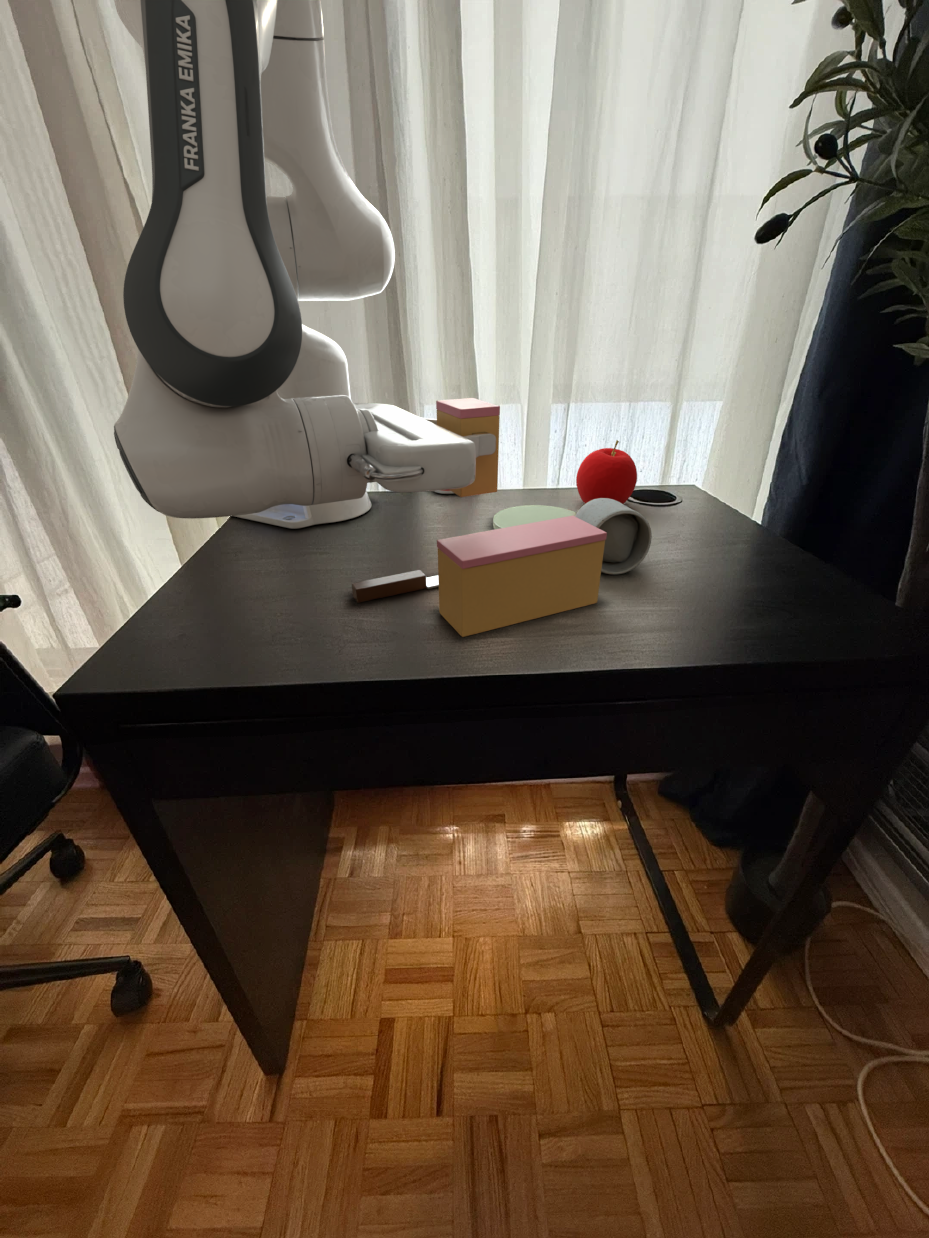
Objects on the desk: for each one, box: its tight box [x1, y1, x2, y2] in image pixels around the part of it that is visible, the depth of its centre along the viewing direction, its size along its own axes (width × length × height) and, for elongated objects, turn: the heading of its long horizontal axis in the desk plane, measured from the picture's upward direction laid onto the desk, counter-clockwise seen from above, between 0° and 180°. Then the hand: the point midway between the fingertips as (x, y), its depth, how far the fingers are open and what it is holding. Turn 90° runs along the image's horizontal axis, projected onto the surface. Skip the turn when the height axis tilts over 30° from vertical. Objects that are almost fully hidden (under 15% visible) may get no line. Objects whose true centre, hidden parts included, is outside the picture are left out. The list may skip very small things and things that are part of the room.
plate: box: [492, 504, 577, 530], centre depth 81 cm, size 13×13×1 cm
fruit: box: [575, 439, 638, 505], centre depth 86 cm, size 9×9×10 cm
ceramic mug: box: [575, 498, 653, 575], centre depth 68 cm, size 11×8×8 cm
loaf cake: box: [436, 516, 607, 638], centre depth 58 cm, size 16×6×8 cm, turn 116°
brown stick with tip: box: [351, 569, 439, 604], centre depth 65 cm, size 20×2×2 cm, turn 116°
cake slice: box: [435, 397, 501, 498], centre depth 55 cm, size 4×6×8 cm
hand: (475, 435), depth 55 cm, fingers closed on cake slice, 5 cm apart
